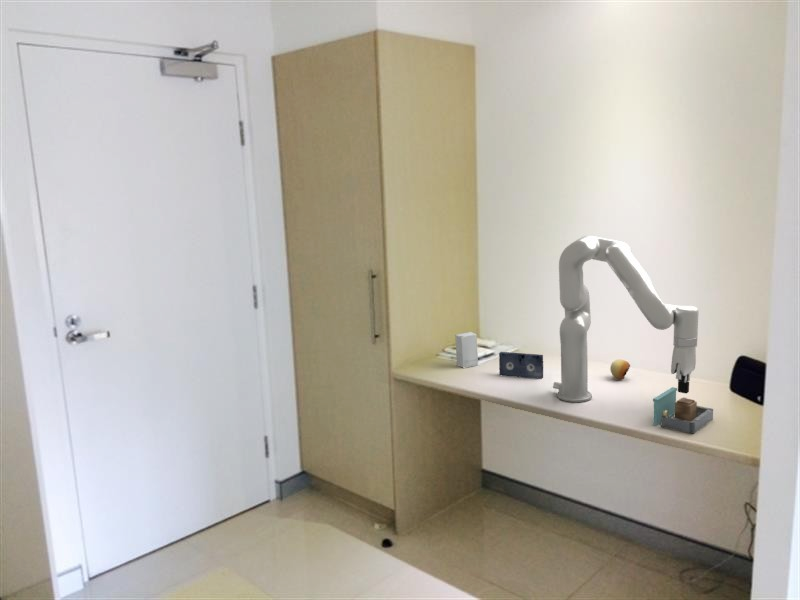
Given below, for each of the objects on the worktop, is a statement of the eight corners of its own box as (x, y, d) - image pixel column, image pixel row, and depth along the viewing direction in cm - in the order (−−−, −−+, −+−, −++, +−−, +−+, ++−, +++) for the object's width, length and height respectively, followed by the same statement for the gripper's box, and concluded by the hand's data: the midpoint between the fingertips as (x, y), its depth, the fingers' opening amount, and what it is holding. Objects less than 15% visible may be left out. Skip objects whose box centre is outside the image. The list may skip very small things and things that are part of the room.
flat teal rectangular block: (652, 424, 211) (653, 398, 209) (671, 411, 221) (672, 387, 220) (657, 425, 210) (657, 399, 208) (676, 412, 220) (677, 388, 219)
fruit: (627, 375, 264) (627, 356, 262) (632, 381, 255) (632, 362, 254) (608, 376, 264) (608, 357, 263) (612, 382, 256) (612, 363, 255)
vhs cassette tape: (543, 377, 267) (543, 354, 266) (541, 379, 265) (541, 356, 263) (501, 373, 276) (500, 351, 274) (499, 375, 273) (498, 353, 272)
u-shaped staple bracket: (660, 426, 209) (661, 410, 208) (681, 412, 220) (682, 397, 219) (692, 434, 202) (693, 417, 201) (713, 419, 213) (713, 403, 212)
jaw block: (674, 423, 212) (674, 400, 210) (680, 418, 215) (681, 396, 214) (689, 426, 208) (690, 404, 207) (696, 422, 211) (696, 400, 210)
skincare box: (471, 362, 295) (470, 331, 292) (478, 365, 289) (477, 333, 287) (455, 365, 291) (454, 333, 289) (462, 368, 286) (461, 336, 283)
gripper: (683, 335, 230) (681, 384, 233) (665, 344, 220) (663, 395, 223) (704, 338, 225) (702, 389, 228) (687, 347, 214) (685, 400, 218)
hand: (683, 392), depth 225 cm, fingers closed
